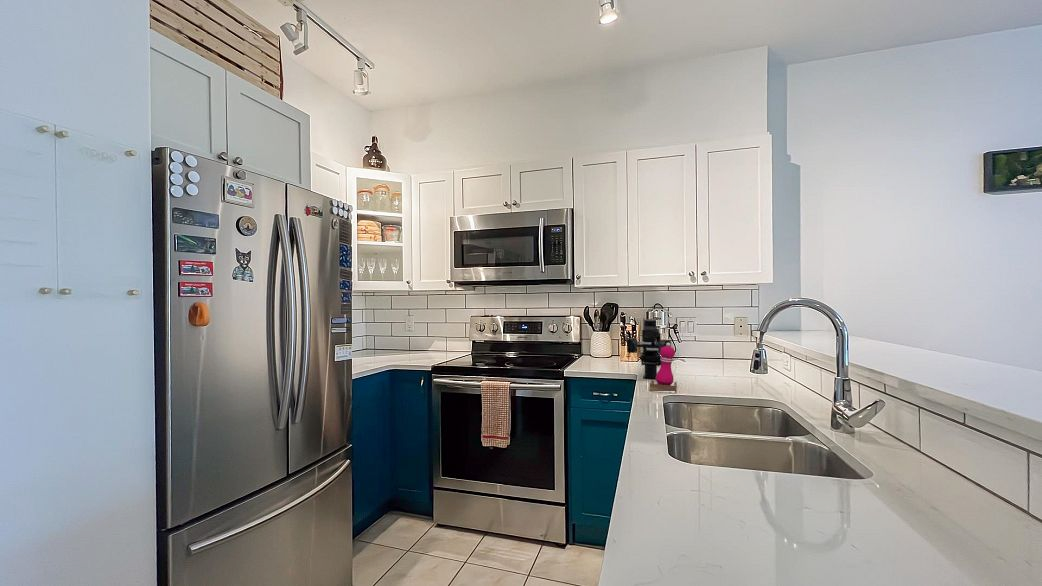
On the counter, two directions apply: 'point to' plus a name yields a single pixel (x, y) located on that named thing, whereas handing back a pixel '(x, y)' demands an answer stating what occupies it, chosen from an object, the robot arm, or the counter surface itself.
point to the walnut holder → (662, 387)
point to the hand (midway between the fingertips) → (647, 350)
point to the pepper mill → (665, 366)
